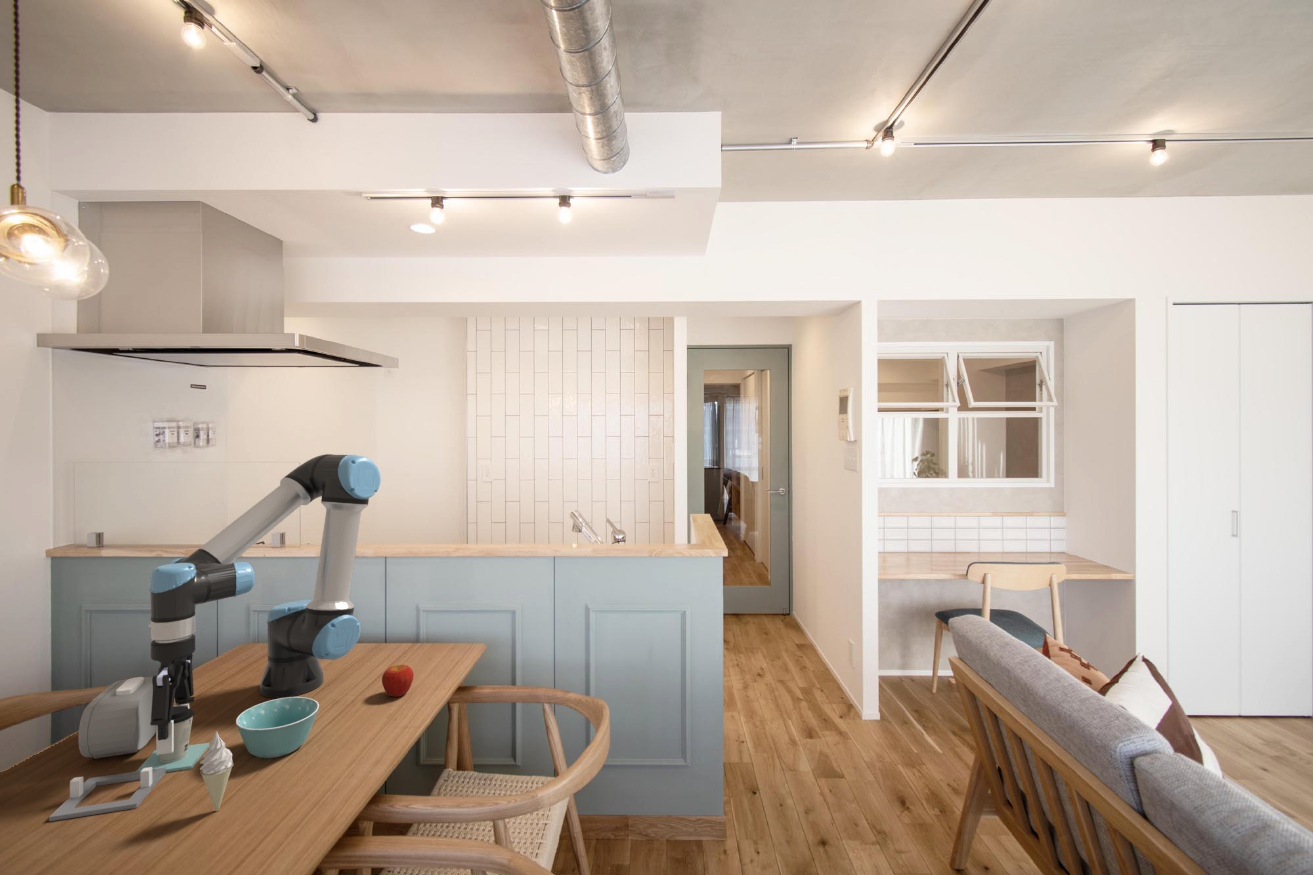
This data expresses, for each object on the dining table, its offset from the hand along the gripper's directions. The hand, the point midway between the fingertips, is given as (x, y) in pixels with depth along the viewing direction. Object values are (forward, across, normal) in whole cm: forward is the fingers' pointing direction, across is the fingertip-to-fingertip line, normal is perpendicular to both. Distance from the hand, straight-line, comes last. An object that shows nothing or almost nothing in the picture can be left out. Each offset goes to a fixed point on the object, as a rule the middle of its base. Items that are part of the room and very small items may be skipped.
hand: (173, 743), depth 131 cm
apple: (+4, -21, +43) cm, 48 cm away
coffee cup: (+3, 0, 0) cm, 3 cm away
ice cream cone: (+4, +23, +15) cm, 28 cm away
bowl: (+4, +1, +20) cm, 20 cm away
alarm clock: (+4, -12, -13) cm, 18 cm away
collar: (+4, +11, -6) cm, 13 cm away
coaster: (+4, 0, 0) cm, 4 cm away
